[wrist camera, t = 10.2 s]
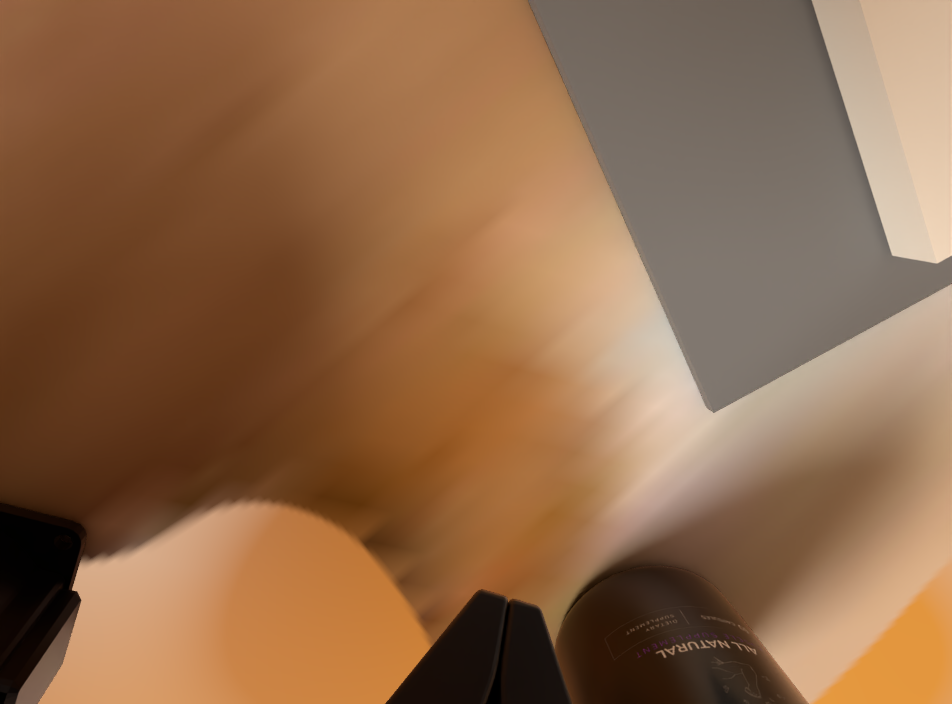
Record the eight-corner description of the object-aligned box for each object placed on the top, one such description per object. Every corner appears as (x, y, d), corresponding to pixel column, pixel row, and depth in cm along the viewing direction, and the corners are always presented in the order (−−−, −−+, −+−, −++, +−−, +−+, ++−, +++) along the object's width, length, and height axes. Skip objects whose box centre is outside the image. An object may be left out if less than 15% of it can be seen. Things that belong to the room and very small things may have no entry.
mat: (706, 407, 23) (713, 412, 22) (522, -13, 19) (525, -18, 18) (1185, 147, 23) (1202, 147, 22) (1107, -333, 19) (1126, -346, 18)
